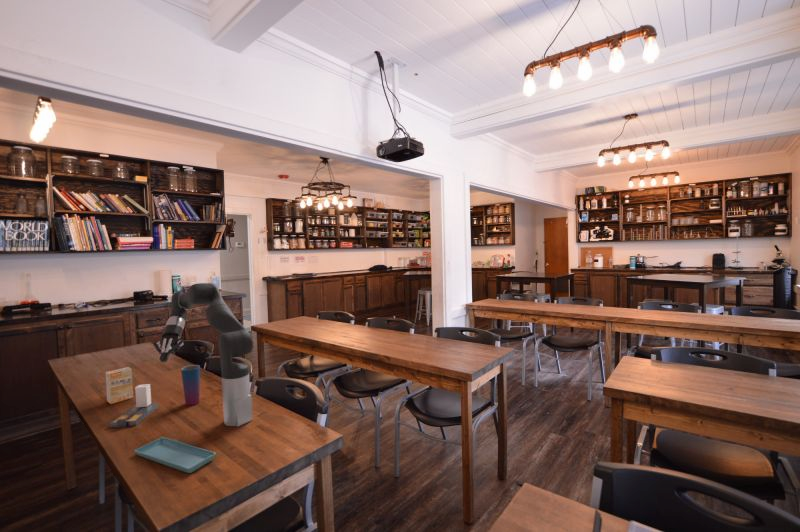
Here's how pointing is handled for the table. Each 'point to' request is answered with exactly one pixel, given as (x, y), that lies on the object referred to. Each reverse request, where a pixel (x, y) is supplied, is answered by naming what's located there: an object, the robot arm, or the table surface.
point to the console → (133, 416)
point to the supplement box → (119, 385)
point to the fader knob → (143, 395)
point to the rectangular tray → (176, 454)
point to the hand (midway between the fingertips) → (162, 361)
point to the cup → (191, 384)
